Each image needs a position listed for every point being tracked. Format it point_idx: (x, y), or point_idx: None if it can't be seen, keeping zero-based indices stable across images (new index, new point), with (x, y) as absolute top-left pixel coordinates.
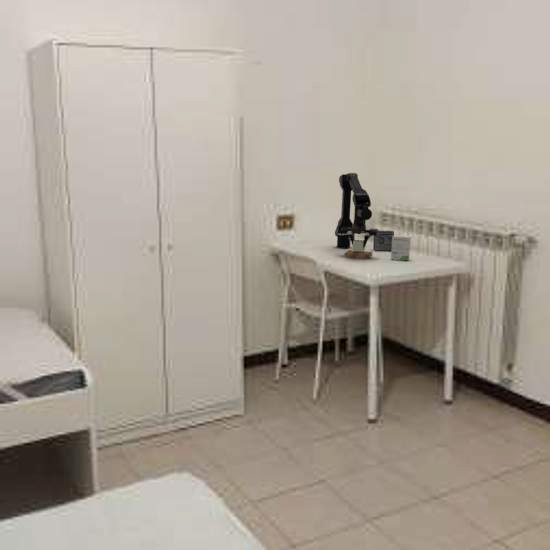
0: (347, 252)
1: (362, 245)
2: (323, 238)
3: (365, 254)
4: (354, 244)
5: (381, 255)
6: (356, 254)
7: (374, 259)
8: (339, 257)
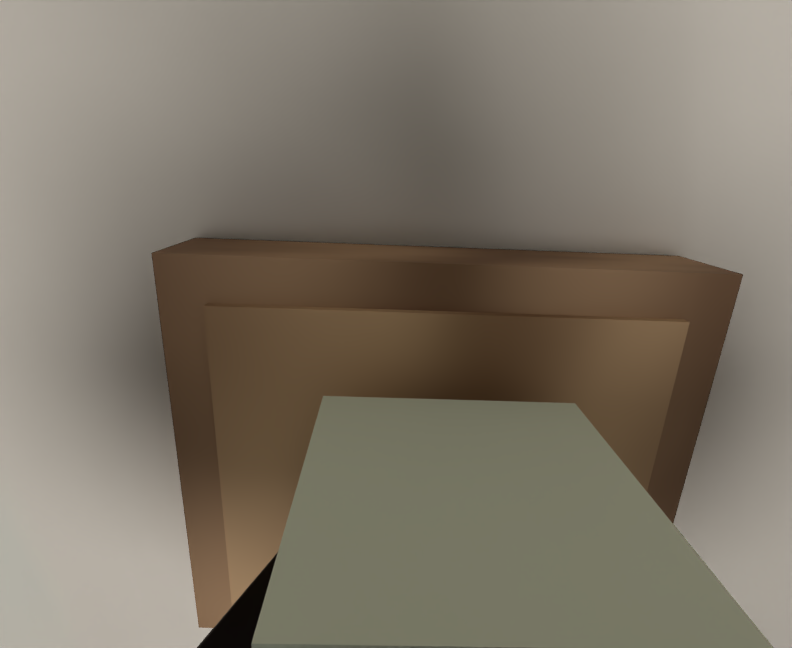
0: (679, 356)
1: (297, 505)
2: None
3: (234, 305)
4: (614, 524)
5: (111, 644)
6: (447, 262)
7: (80, 289)
8: (778, 240)
